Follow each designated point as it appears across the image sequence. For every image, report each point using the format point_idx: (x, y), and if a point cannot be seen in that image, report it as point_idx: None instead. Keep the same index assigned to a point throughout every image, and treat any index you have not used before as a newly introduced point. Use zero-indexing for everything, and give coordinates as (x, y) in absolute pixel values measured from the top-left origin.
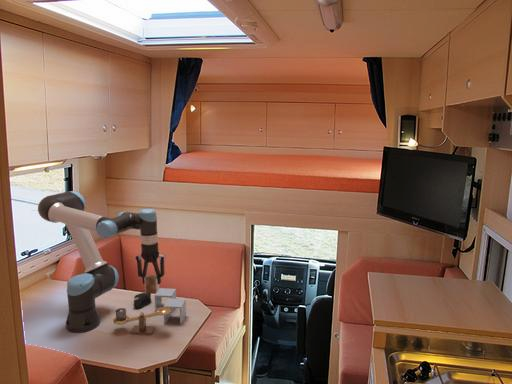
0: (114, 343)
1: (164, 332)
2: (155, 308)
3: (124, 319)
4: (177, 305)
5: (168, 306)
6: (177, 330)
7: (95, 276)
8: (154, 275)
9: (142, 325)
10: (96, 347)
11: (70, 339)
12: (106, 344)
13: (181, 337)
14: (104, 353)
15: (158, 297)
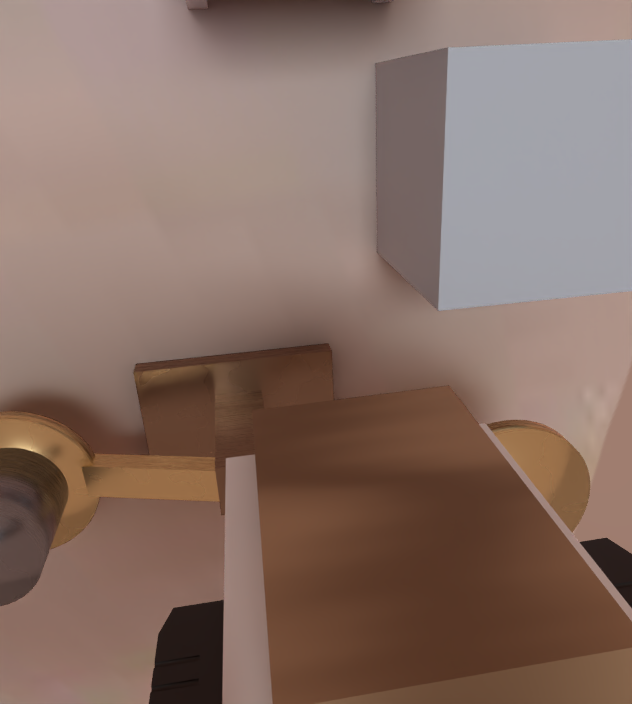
0: (112, 582)
1: (421, 384)
2: (192, 2)
3: (64, 509)
4: (604, 258)
5: (499, 304)
6: (516, 336)
7: None
8: (537, 695)
9: None
10: (17, 644)
11: None
12: (63, 604)
13: (560, 417)
14: (118, 673)
15: None
